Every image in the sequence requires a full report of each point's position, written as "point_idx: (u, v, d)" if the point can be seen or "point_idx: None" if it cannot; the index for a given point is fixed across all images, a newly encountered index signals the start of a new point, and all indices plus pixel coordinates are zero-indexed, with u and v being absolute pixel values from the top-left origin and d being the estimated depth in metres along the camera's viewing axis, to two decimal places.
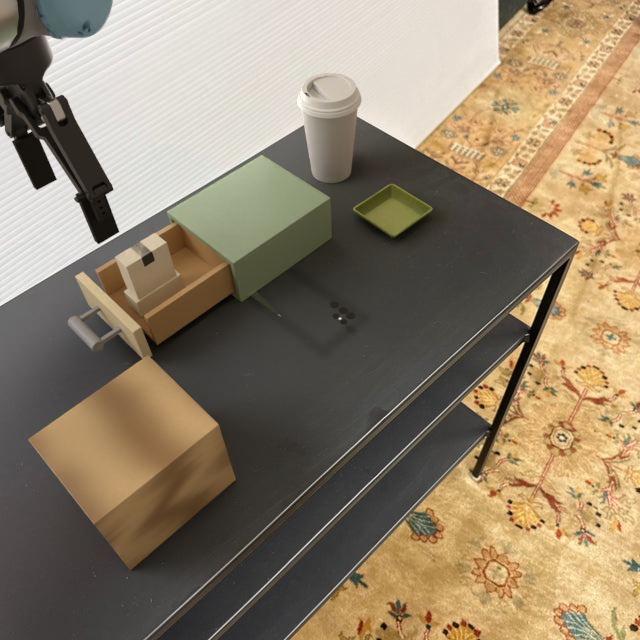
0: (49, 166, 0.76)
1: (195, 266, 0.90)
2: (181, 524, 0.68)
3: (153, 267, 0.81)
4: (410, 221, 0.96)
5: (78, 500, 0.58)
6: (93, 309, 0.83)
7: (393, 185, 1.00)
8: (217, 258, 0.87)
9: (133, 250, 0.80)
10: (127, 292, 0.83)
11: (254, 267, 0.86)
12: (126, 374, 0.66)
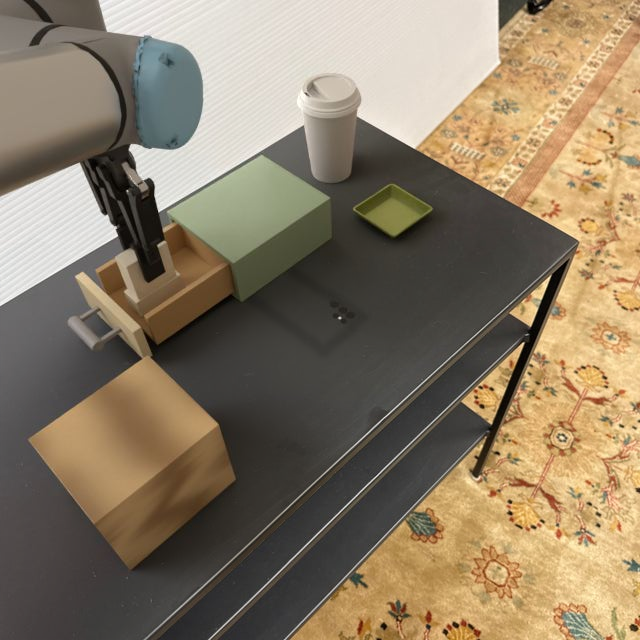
0: None
1: (195, 266, 0.90)
2: (181, 524, 0.68)
3: None
4: (410, 221, 0.96)
5: (78, 500, 0.58)
6: (93, 309, 0.83)
7: (393, 185, 1.00)
8: (217, 258, 0.87)
9: (133, 250, 0.80)
10: (127, 292, 0.83)
11: (254, 267, 0.86)
12: (126, 374, 0.66)
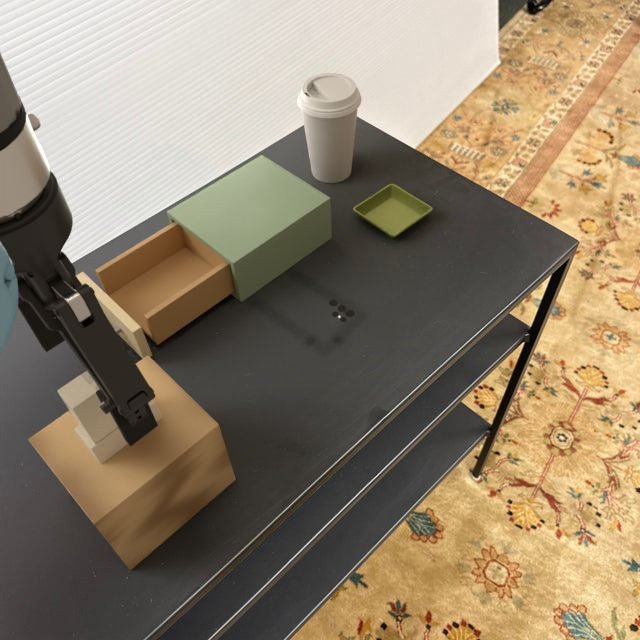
0: None
1: (195, 266, 0.90)
2: (181, 524, 0.68)
3: None
4: (410, 221, 0.96)
5: (78, 500, 0.58)
6: None
7: (393, 185, 1.00)
8: (217, 258, 0.87)
9: (84, 379, 0.55)
10: (79, 430, 0.59)
11: (254, 267, 0.86)
12: None
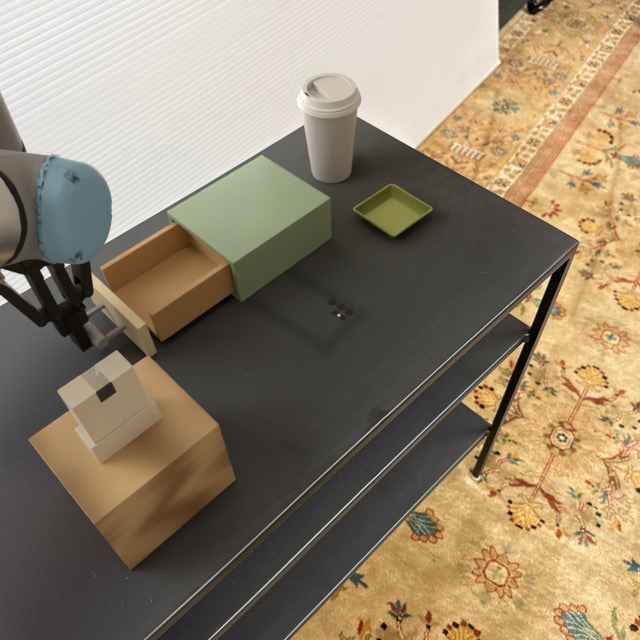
0: (81, 337, 0.79)
1: (199, 263, 0.90)
2: (181, 524, 0.68)
3: (114, 400, 0.57)
4: (410, 221, 0.96)
5: (78, 500, 0.58)
6: (98, 306, 0.83)
7: (393, 185, 1.00)
8: None
9: (84, 379, 0.55)
10: (79, 430, 0.59)
11: (254, 267, 0.86)
12: None
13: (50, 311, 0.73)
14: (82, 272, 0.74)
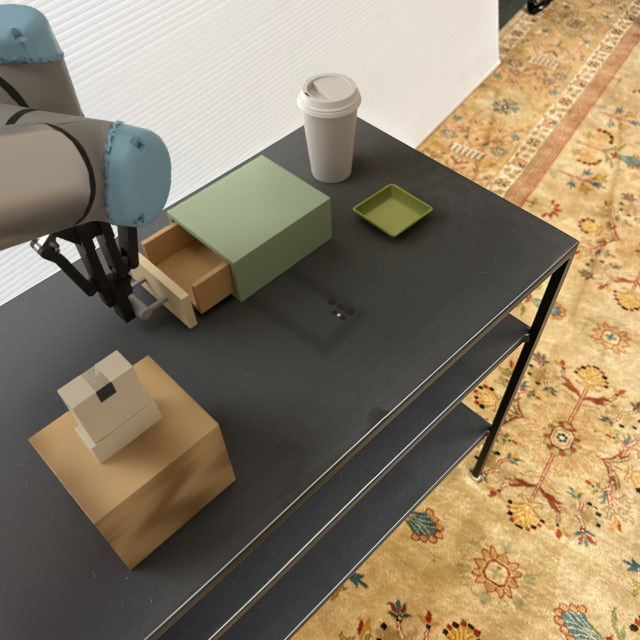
0: (126, 309, 0.82)
1: None
2: (181, 524, 0.68)
3: (114, 400, 0.57)
4: (410, 221, 0.96)
5: (78, 500, 0.58)
6: (139, 279, 0.86)
7: (393, 185, 1.00)
8: None
9: (84, 379, 0.55)
10: (79, 430, 0.59)
11: (254, 267, 0.86)
12: None
13: (99, 281, 0.76)
14: (130, 243, 0.76)
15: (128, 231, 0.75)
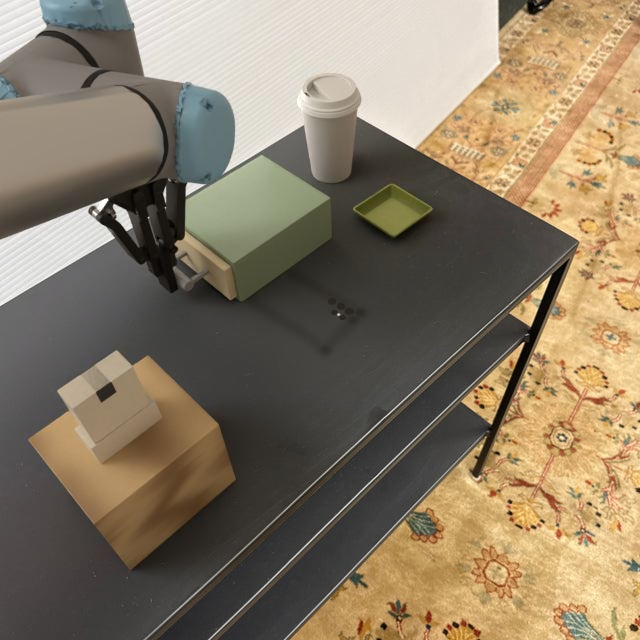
0: (170, 280, 0.85)
1: None
2: (181, 524, 0.68)
3: (114, 400, 0.57)
4: (410, 221, 0.96)
5: (78, 500, 0.58)
6: (181, 253, 0.89)
7: (393, 185, 1.00)
8: None
9: (84, 379, 0.55)
10: (79, 430, 0.59)
11: (254, 267, 0.86)
12: None
13: (149, 249, 0.79)
14: (178, 214, 0.80)
15: (178, 202, 0.78)
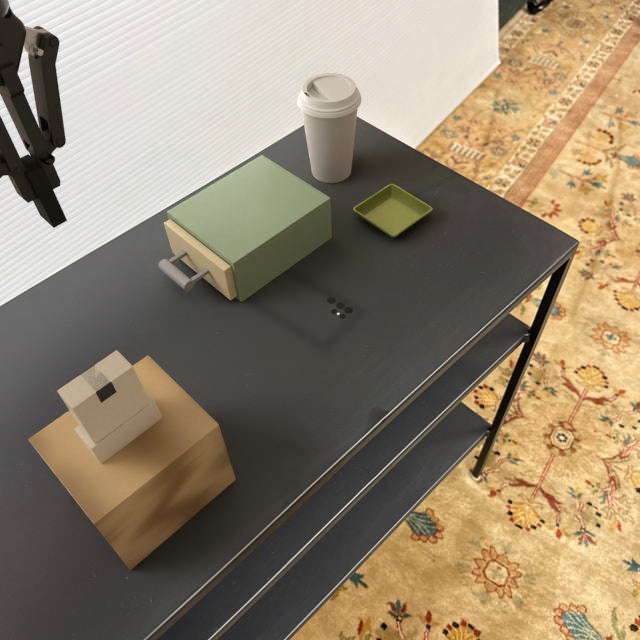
0: (51, 206, 0.61)
1: None
2: (181, 524, 0.68)
3: (114, 400, 0.57)
4: (410, 221, 0.96)
5: (78, 500, 0.58)
6: (181, 253, 0.89)
7: (393, 185, 1.00)
8: None
9: (84, 379, 0.55)
10: (79, 430, 0.59)
11: (254, 267, 0.86)
12: None
13: (6, 157, 0.56)
14: (49, 107, 0.56)
15: (46, 88, 0.55)
